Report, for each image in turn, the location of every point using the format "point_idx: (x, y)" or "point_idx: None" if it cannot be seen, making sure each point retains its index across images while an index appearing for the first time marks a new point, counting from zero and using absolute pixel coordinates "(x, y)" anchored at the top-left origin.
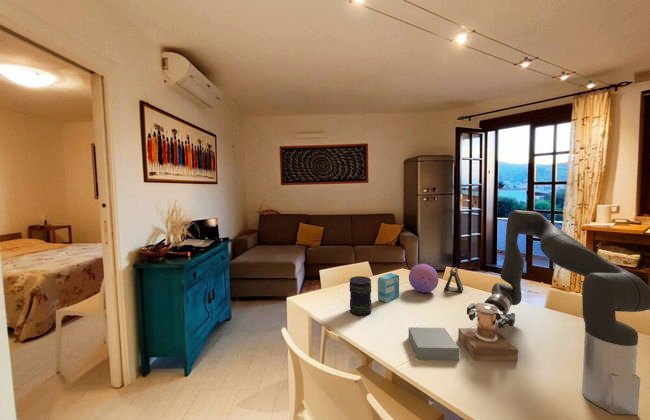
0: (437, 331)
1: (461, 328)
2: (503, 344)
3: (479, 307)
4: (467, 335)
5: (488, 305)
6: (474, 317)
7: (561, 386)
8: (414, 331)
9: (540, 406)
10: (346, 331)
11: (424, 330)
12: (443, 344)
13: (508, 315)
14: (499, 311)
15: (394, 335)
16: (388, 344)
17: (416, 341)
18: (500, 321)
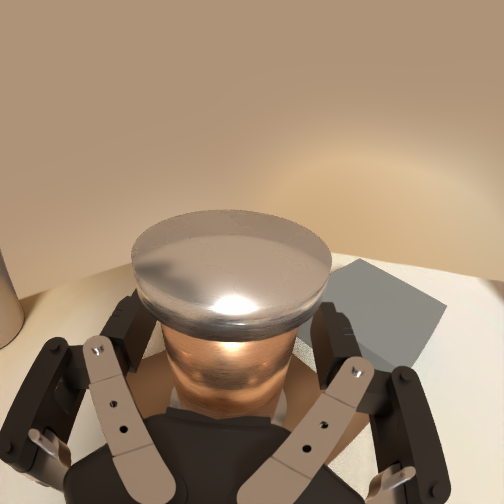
0: (397, 335)
1: (362, 423)
2: (147, 390)
3: (276, 221)
4: (308, 382)
5: (220, 264)
6: (318, 369)
7: (45, 337)
8: (423, 299)
9: (114, 277)
10: (478, 281)
11: (419, 317)
12: (332, 289)
13: (51, 455)
14: (114, 427)
15: (451, 320)
16: (422, 291)
17: (380, 271)
18: (137, 296)
